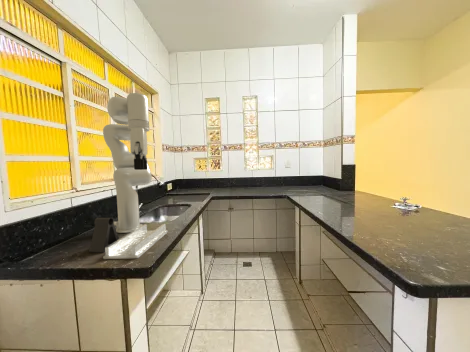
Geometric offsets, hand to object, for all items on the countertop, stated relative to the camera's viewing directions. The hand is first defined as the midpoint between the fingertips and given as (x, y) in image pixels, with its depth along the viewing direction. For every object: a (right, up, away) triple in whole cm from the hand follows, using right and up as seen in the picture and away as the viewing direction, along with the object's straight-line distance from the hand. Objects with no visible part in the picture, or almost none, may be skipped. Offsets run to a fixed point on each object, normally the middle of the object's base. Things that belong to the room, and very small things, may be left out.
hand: (141, 169), depth 81 cm
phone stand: (-13, -31, -1) cm, 34 cm away
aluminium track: (-1, -30, +2) cm, 30 cm away
